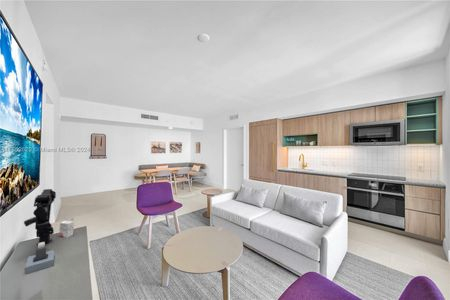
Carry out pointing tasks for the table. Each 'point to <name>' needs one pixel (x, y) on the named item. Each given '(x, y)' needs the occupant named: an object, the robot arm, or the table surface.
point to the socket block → (39, 262)
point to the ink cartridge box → (66, 227)
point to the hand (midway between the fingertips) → (41, 234)
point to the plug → (41, 252)
